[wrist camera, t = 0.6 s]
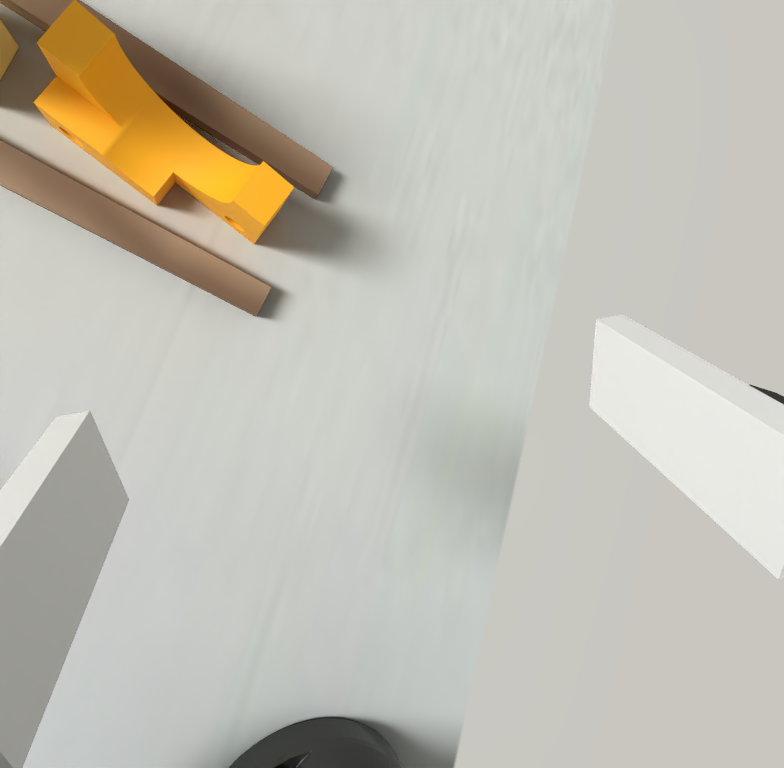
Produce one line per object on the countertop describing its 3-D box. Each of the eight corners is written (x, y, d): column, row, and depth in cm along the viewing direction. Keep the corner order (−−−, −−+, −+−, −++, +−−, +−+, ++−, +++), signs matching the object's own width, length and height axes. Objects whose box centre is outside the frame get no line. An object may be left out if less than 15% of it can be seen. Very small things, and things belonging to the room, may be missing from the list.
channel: (255, 316, 33) (256, 316, 32) (-211, 76, 25) (-231, 65, 24) (328, 172, 34) (332, 167, 33) (-102, -109, 25) (-116, -129, 24)
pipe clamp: (51, 125, 29) (10, 72, 23) (101, 67, 29) (74, -1, 23) (236, 266, 33) (244, 252, 27) (277, 212, 33) (294, 187, 27)
